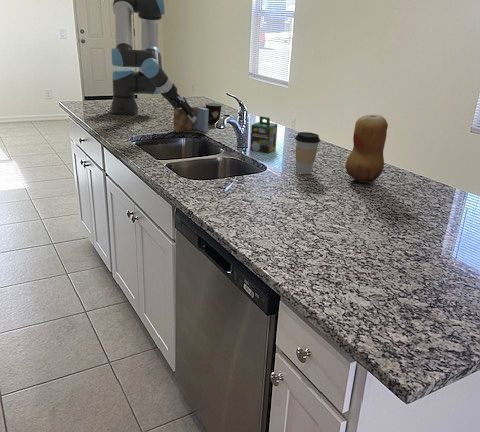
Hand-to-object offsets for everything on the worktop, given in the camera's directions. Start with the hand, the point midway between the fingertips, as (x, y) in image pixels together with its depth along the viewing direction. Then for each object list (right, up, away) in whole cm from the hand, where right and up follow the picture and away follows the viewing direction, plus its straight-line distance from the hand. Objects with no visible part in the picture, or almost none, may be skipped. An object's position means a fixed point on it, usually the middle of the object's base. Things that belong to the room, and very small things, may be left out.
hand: (192, 120), depth 232 cm
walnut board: (-2, -5, +1) cm, 5 cm away
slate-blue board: (+1, -4, +3) cm, 5 cm away
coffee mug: (+8, +2, +18) cm, 20 cm away
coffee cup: (+48, -32, -52) cm, 78 cm away
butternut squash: (+70, -35, -58) cm, 97 cm away
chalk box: (+34, -19, -25) cm, 46 cm away
